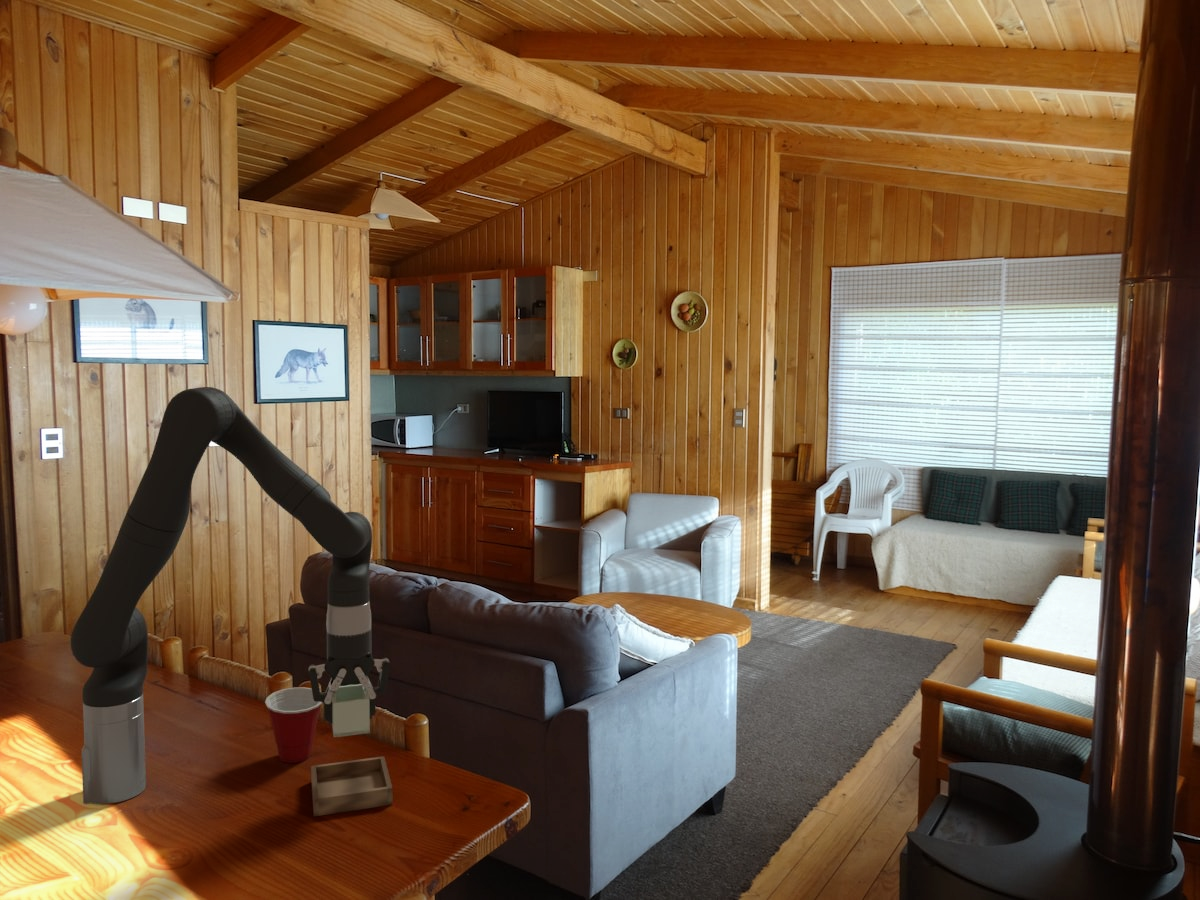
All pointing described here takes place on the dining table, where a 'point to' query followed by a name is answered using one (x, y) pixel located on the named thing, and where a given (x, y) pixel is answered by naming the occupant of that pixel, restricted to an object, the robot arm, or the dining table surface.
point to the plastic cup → (293, 722)
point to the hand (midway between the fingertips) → (350, 719)
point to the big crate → (350, 786)
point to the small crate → (350, 711)
